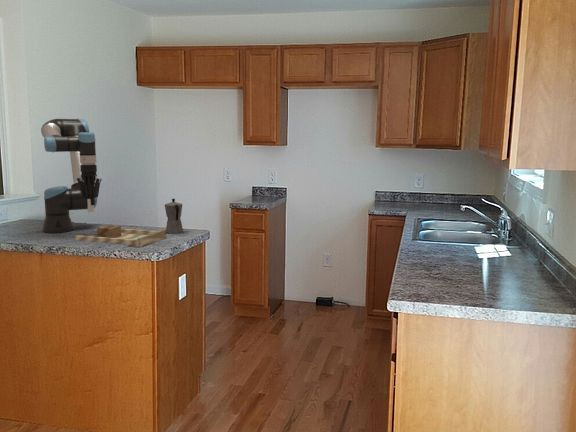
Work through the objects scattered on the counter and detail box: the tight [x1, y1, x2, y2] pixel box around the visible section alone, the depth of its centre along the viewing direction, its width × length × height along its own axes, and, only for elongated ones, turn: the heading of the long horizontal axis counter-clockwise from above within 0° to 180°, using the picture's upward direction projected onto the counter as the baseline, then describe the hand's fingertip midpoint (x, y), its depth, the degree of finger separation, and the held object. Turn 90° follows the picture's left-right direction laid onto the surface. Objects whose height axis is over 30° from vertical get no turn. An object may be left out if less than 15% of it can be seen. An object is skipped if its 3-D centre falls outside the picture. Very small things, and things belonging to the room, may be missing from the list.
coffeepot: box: [164, 198, 184, 235], centre depth 279 cm, size 15×9×18 cm, turn 25°
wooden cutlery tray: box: [74, 228, 167, 248], centre depth 262 cm, size 36×23×4 cm, turn 73°
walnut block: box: [96, 224, 122, 238], centre depth 264 cm, size 8×8×5 cm
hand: (91, 211), depth 265 cm, fingers closed
